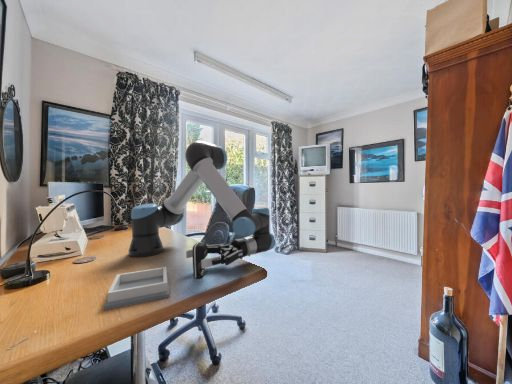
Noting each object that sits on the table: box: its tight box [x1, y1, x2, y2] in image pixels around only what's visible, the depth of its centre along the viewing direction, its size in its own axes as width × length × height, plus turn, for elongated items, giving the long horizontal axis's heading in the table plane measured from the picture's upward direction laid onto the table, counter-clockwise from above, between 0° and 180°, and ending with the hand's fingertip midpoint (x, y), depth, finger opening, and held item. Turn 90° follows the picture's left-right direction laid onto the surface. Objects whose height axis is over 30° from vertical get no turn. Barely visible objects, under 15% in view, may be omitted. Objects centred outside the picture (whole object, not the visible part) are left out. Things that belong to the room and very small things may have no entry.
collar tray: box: [103, 266, 170, 311], centre depth 69 cm, size 18×16×4 cm
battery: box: [192, 241, 209, 279], centre depth 79 cm, size 7×4×11 cm, turn 178°
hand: (193, 259), depth 77 cm, fingers open, 13 cm apart
